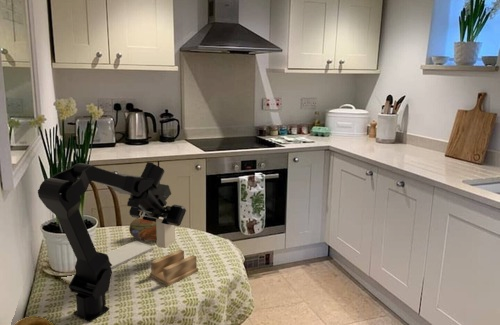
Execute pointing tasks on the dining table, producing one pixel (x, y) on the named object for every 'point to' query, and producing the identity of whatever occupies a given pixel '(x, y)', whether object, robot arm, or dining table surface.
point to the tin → (143, 229)
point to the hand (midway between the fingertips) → (168, 222)
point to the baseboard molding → (122, 255)
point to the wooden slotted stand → (173, 267)
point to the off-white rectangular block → (164, 233)
